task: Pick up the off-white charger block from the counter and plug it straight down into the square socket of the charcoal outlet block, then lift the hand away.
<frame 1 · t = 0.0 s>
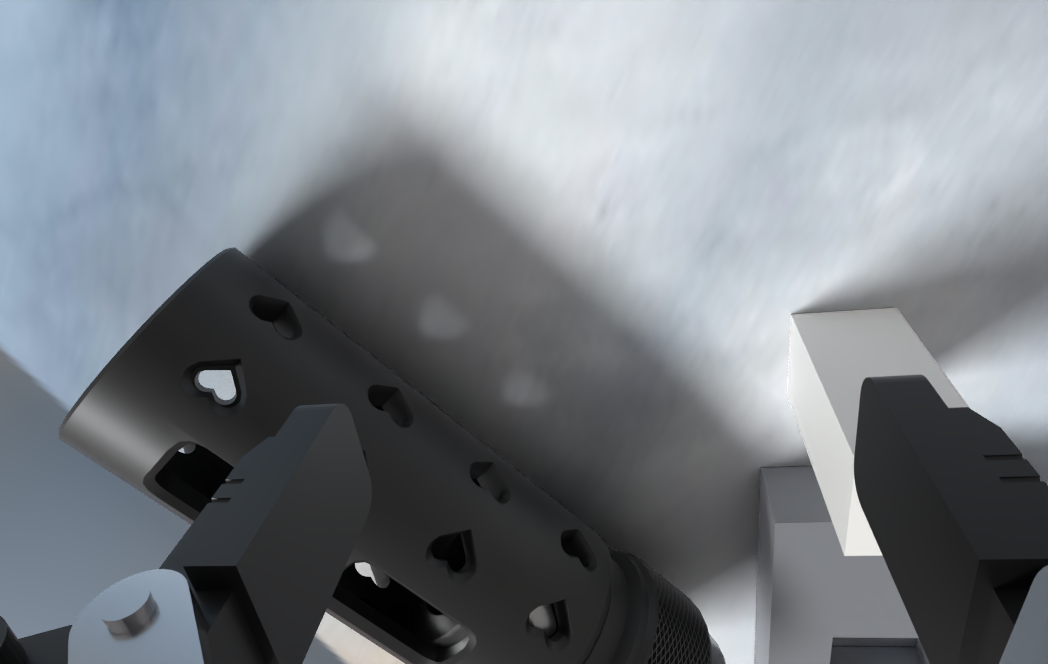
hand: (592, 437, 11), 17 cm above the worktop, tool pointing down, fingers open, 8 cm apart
outlet block: (870, 586, 36), on the worktop
muzzle brake: (464, 455, 35), on the worktop
charger: (839, 353, 29), on the worktop
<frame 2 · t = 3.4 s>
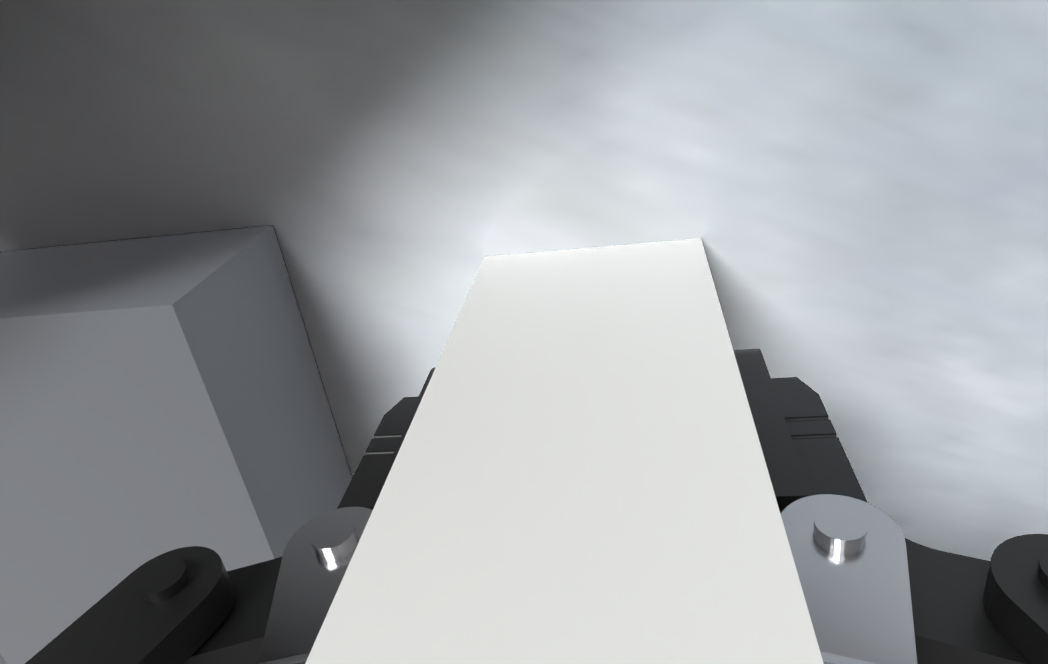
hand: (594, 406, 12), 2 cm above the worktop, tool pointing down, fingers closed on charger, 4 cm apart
outlet block: (39, 466, 17), on the worktop
charger: (599, 341, 14), on the worktop, touching gripper
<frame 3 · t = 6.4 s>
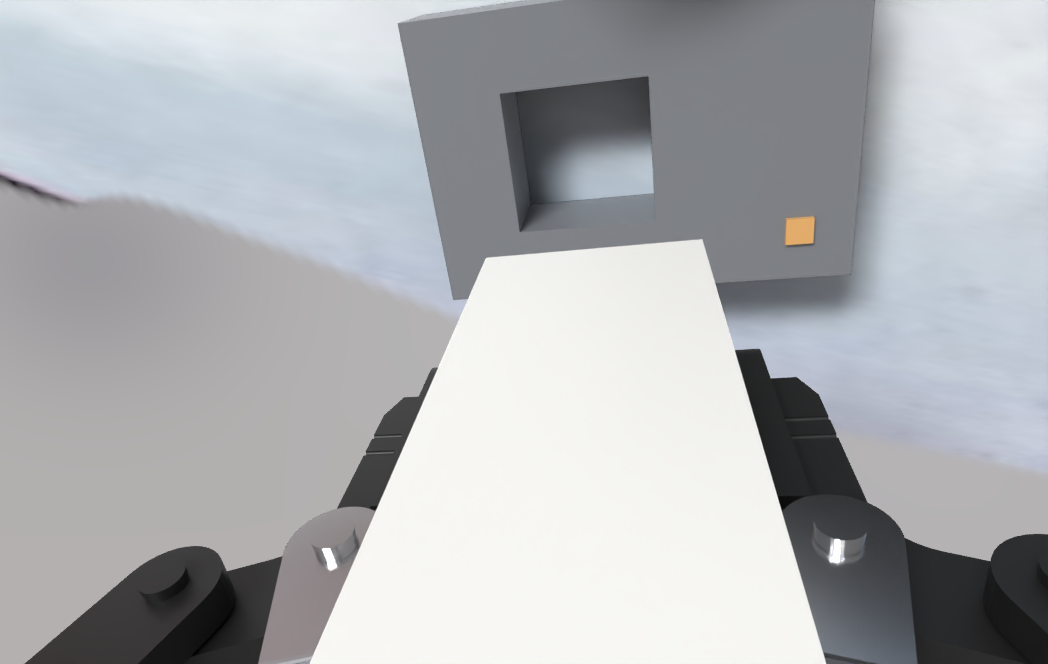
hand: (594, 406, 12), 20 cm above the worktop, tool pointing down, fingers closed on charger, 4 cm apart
outlet block: (633, 132, 29), on the worktop
charger: (600, 343, 14), point 18 cm above the worktop, touching gripper
when the fingers open (5 cm above the worktop, at t = 9.6 s): charger drops 2 cm, resting in outlet block.
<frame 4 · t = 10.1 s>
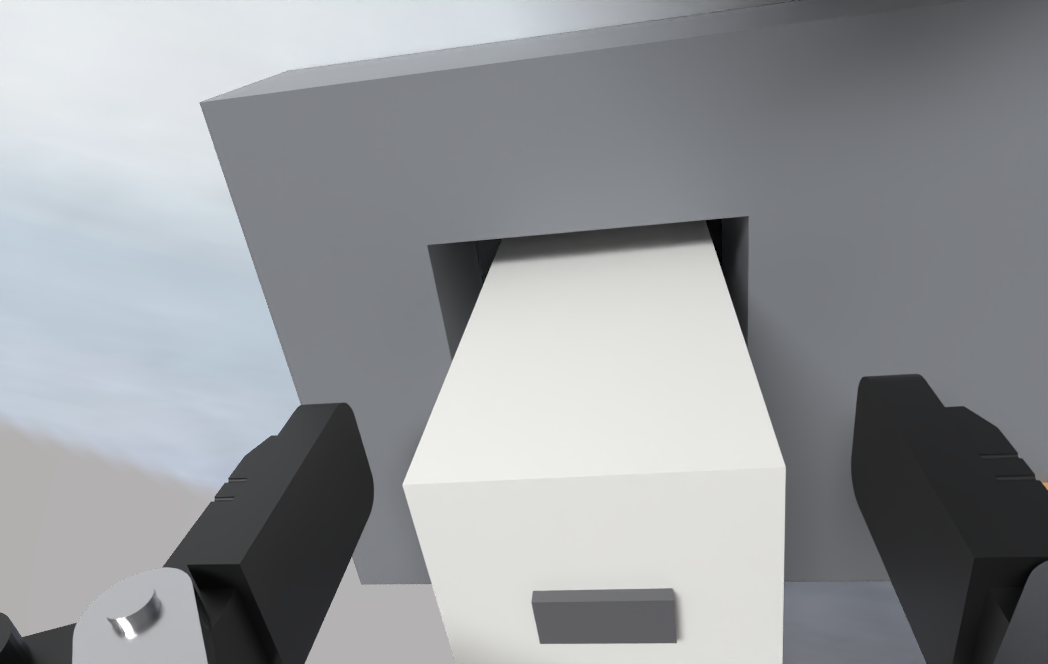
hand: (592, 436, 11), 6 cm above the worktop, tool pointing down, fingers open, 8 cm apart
outlet block: (690, 283, 16), on the worktop
charger: (611, 289, 16), resting in outlet block
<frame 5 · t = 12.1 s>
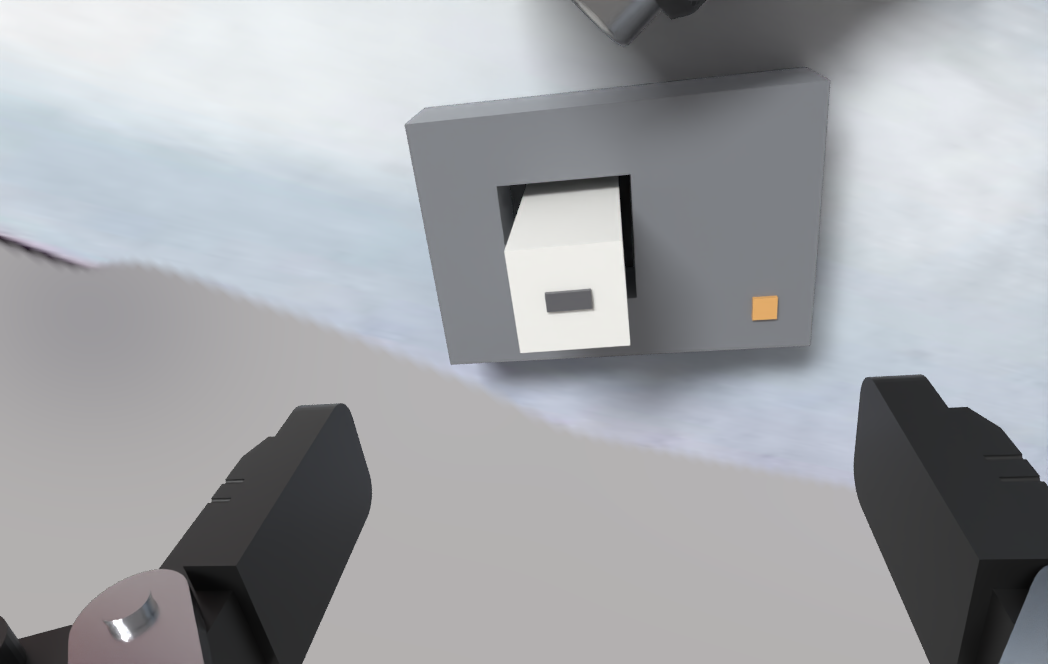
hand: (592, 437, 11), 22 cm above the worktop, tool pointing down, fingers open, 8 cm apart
outlet block: (615, 213, 32), on the worktop
charger: (577, 216, 33), resting in outlet block
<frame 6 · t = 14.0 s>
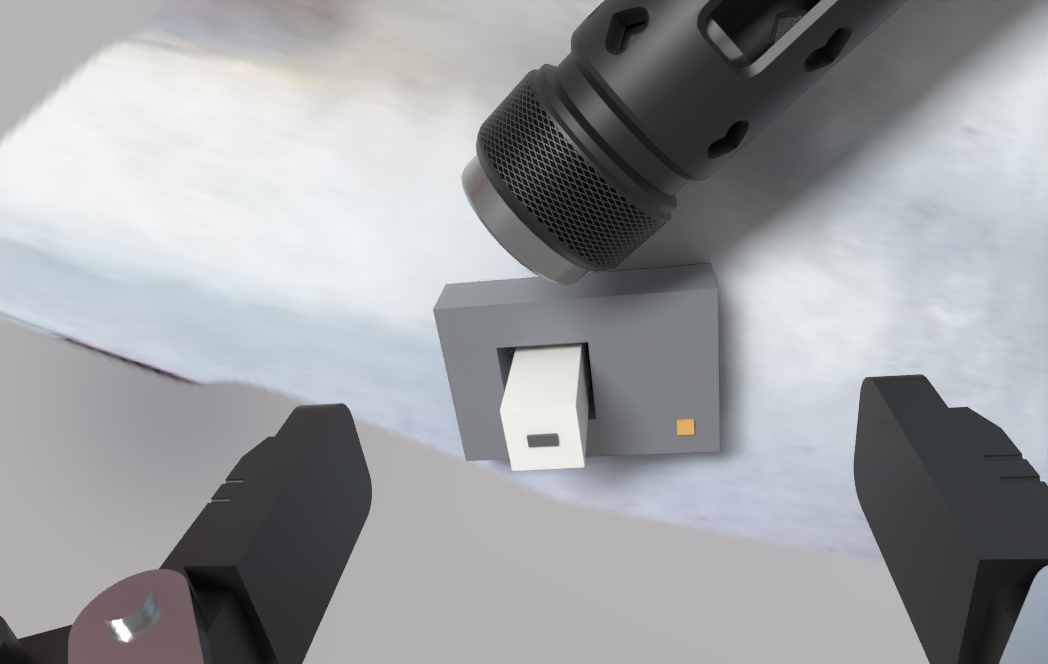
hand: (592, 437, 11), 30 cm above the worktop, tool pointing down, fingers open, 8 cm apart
outlet block: (583, 353, 45), on the worktop
charger: (555, 354, 45), resting in outlet block
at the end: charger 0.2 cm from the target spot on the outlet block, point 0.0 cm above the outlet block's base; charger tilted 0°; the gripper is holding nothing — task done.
